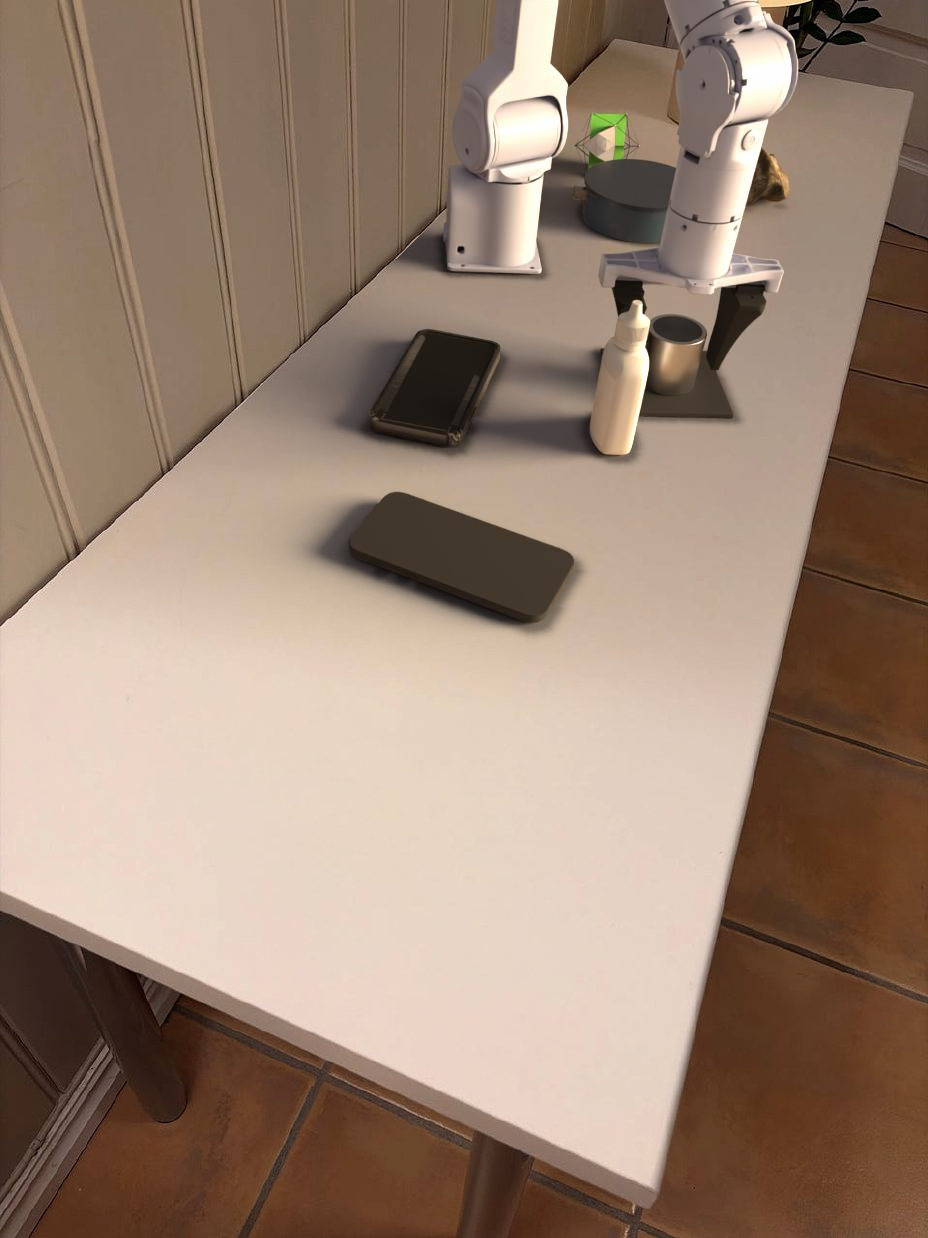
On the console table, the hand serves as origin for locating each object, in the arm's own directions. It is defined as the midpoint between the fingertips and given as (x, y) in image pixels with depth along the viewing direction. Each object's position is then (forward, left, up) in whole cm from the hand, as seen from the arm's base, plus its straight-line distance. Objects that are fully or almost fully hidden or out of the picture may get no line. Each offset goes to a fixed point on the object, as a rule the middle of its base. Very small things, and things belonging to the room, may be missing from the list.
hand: (668, 362), depth 85 cm
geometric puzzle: (+1, +45, -2) cm, 45 cm away
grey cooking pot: (+3, +33, -2) cm, 33 cm away
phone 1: (-20, -2, -2) cm, 20 cm away
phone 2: (-19, -23, -2) cm, 30 cm away
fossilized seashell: (+17, +39, -2) cm, 43 cm away
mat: (0, 0, -2) cm, 2 cm away
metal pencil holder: (0, 0, -2) cm, 2 cm away
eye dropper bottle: (-6, -8, -2) cm, 10 cm away
